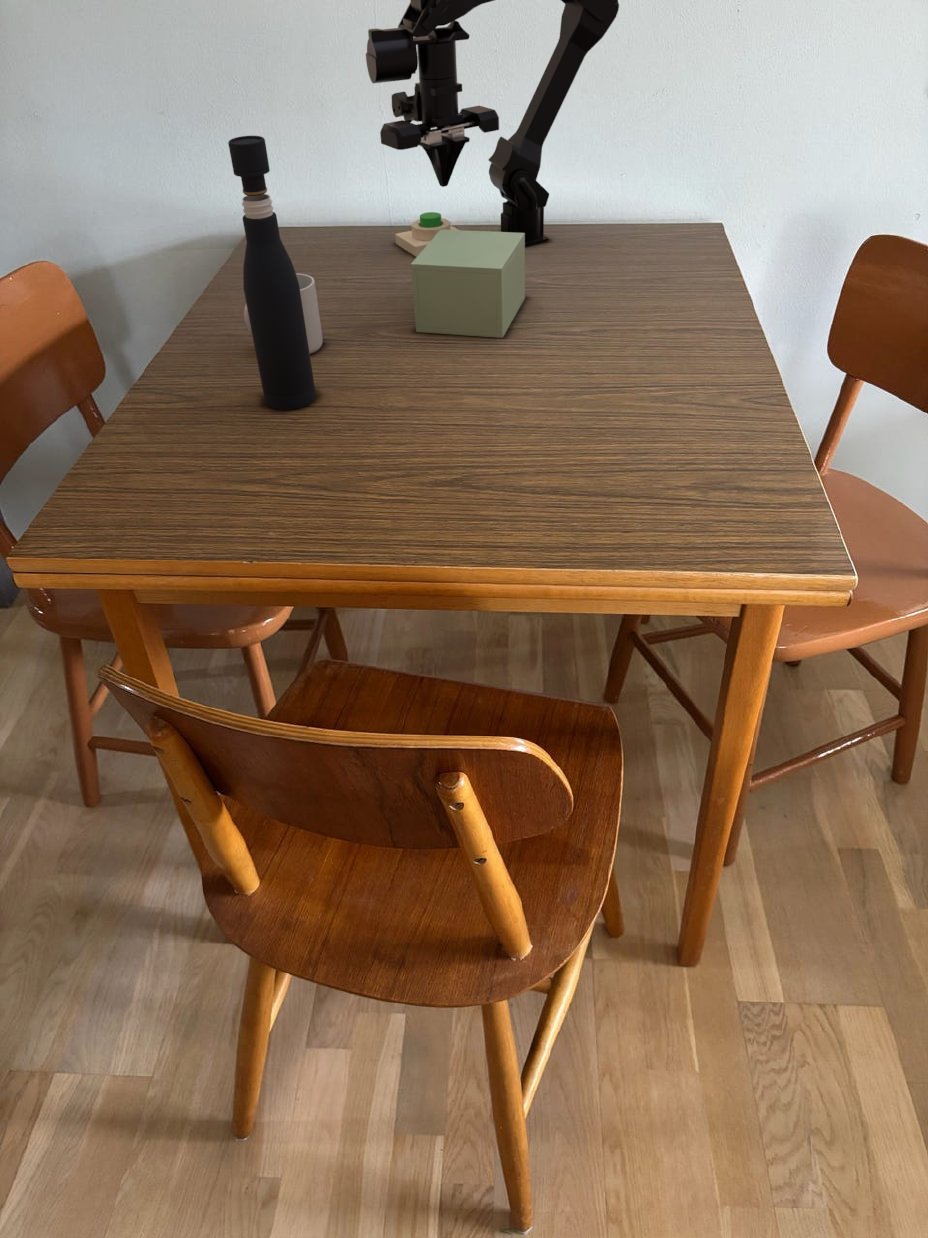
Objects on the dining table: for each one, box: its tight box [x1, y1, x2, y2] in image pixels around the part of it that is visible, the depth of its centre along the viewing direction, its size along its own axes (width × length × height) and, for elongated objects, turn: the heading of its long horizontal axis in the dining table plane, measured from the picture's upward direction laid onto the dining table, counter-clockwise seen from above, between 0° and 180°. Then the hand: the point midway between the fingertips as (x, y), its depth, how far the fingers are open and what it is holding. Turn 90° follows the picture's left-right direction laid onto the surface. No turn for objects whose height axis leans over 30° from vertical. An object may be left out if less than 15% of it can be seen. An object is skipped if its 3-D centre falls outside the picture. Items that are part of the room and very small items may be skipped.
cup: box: [243, 273, 324, 355], centre depth 130 cm, size 7×10×9 cm
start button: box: [419, 211, 442, 228], centre depth 161 cm, size 4×4×2 cm
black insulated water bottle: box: [227, 135, 317, 411], centre depth 111 cm, size 6×6×30 cm
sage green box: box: [410, 229, 526, 339], centre depth 136 cm, size 15×13×10 cm
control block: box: [394, 217, 459, 258], centre depth 163 cm, size 10×8×4 cm
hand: (443, 185), depth 154 cm, fingers closed
